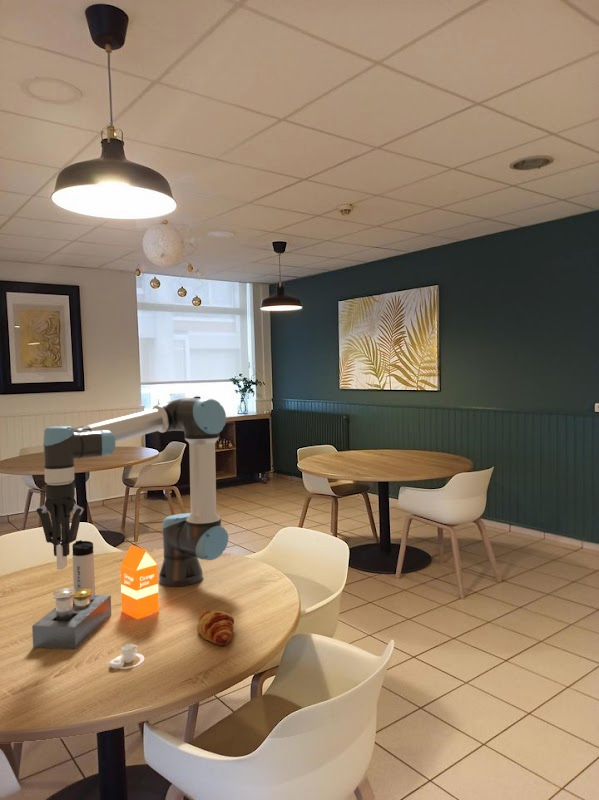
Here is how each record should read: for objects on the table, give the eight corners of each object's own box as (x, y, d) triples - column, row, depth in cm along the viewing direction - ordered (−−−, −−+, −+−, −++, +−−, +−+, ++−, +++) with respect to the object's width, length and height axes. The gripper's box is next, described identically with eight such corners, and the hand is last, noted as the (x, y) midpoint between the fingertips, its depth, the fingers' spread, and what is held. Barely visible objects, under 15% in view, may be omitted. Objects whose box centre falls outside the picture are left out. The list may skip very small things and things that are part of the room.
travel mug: (89, 598, 187) (87, 538, 186) (98, 604, 182) (96, 542, 181) (70, 604, 182) (68, 542, 182) (79, 610, 178) (77, 546, 177)
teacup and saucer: (109, 674, 140) (109, 657, 140) (107, 659, 147) (106, 644, 147) (146, 666, 143) (146, 650, 143) (142, 652, 151) (141, 637, 150)
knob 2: (96, 614, 171) (95, 588, 171) (87, 622, 166) (86, 595, 165) (78, 614, 172) (77, 588, 171) (69, 622, 166) (68, 595, 166)
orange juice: (136, 619, 170) (134, 553, 170) (121, 611, 176) (119, 547, 175) (159, 611, 176) (157, 547, 175) (143, 603, 182) (141, 541, 181)
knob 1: (79, 616, 161) (78, 588, 161) (69, 624, 156) (68, 595, 155) (60, 615, 162) (59, 587, 161) (50, 624, 156) (48, 595, 156)
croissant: (197, 632, 169) (184, 611, 167) (226, 611, 172) (213, 590, 171) (217, 663, 149) (202, 639, 148) (248, 638, 153) (234, 615, 151)
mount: (111, 614, 174) (110, 595, 174) (75, 649, 152) (74, 627, 152) (73, 613, 175) (73, 594, 175) (33, 647, 154) (32, 625, 153)
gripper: (88, 480, 160) (90, 563, 161) (44, 480, 161) (47, 562, 162) (75, 485, 153) (77, 572, 153) (29, 484, 154) (32, 571, 155)
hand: (62, 567), depth 158 cm, fingers closed
